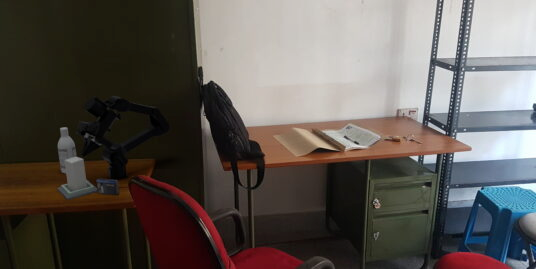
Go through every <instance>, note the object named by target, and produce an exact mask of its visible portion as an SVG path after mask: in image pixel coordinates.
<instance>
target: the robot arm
mask: <svg viewBox="0 0 536 269" xmlns="http://www.w3.org/2000/svg"><path fill="white" fill-rule="evenodd" d="M83 110H84V111H86V112H87V113H88V114H90V115H91V116H93V117H94V118H97V120H93V121H92V122H91V121H87V122H86V121H82V120H79V121H78V126H77V130H76V131H75V133H76V134H78V135H80V136H81V137H82V139H83V146H82V150H81V153H80V156H81V157H83V158H84V157H86V156H88V155H89V154H90V153H93V152H94V151H96V150H99V149H101V148H102V146H104V148H103V150H102V153H101V157H102V159H103V160H105V162H106V163H107V164H108V167H107V172H108V174H107V175H108V178H110V179H111V180H118V181H119V180H122V179H126V178H129V174H127V165H128V163H129V159H128V158H126V156H127V155H128V154H129V153H130V151H133V150H134V149H136V148H137V147H139V146H140V145H142V144H144V143H146V142H147V141H149V140H151V139H152V138H155V137H159V136H160V137H161V136H163V135H165V134H167V133H169V131H170V123H169V122H168V121H167V119H166V118H165V117H164V116H163V114H162V112H161V111H160V109H159V108H158V107H155V106H152V105H151V106H150V105H149V106H148V105H143V104H139V103H135V102H132V101H129V100H127V99H125V98H123V97H119V96H116V95H112V96H110V97H109V98H108V99H106V100H104V101H102V100H100V98H99V97H97V96H93V97H92V98H90V99H88V100H87V101H85V102H84V104H83ZM120 112H121V113H127V112H133V113H138V114H143V115H147V116H148V120H149V124H148V126H147V127H146V128H145V129H143V130H142V131H140V132H138V133H136V134H134V135H133V136H131V137H130V138H127V139H126V140H124V141H122V142H120V143H117V142H115V141H113V142H112V141H110V140H109V139H108V138H107V137H105V136H106V134H107V133H108V132H109V133H110V132H111V130H112V129H110V128H111V127H112V125H113V124H114V122H115V121H116V120H119V121H121V120H122V117H121V113H120Z"/></svg>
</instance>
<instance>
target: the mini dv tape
mask: <svg viewBox="0 0 536 269" xmlns="http://www.w3.org/2000/svg"><path fill="white" fill-rule="evenodd" d="M96 188H97V190H98V192H97V194H98V195H99V194H100V195H109V196H118V195H119V194H120V191H119V190H120V188H119V180H113V179H111V178H110V179H109V178H97V179H96Z"/></svg>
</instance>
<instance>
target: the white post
mask: <svg viewBox="0 0 536 269" xmlns="http://www.w3.org/2000/svg"><path fill="white" fill-rule="evenodd" d="M84 160H85V159H84V158H81V157H78V156H77V157H73V158H70V159H67V160H64V161H65V168H66V173H65V174H66V181H67V184H68V189H69V190H71V191H77V190H80V189H84V188H87V182H86V180H87V177H86V168H85V161H84Z"/></svg>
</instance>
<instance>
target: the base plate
mask: <svg viewBox="0 0 536 269" xmlns="http://www.w3.org/2000/svg"><path fill="white" fill-rule="evenodd" d="M86 182H87V188H84V189H80V190H77V191H71V190H69V189H68V183H65V184H61V185H60V187H57V191H58V192H59V193H60V194H61V195H62V196H63V197H64V198H65V199H66V200H67V201H69V200H72V199H76V198H80V197H84V196H87V195H90V194H94V193H98V190H97V186H95V185H94V184H93V183H91V181H90V180H88V179H86Z"/></svg>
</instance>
